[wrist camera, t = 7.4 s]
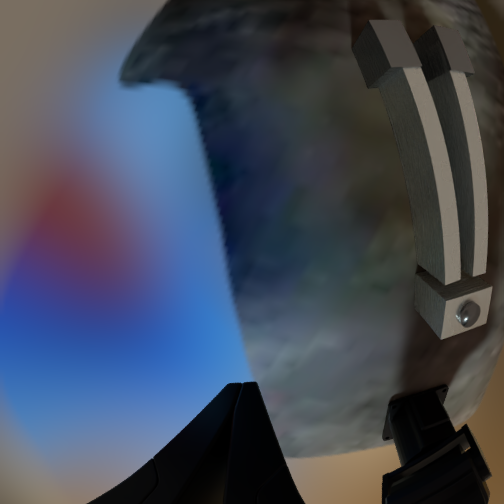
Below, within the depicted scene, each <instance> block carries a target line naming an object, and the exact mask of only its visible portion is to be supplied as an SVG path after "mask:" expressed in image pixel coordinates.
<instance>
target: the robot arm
mask: <svg viewBox="0 0 504 504" xmlns="http://www.w3.org/2000/svg"><path fill="white" fill-rule="evenodd" d="M448 389H449V388H448V386H447V385H446V384H445V385H442V386H439V387H436V388H433V389H430V390H428V391H425V392H422V393H418V394H415V395H412V396H409V397H406V398H402V399H399V400H395V401H392V402H391V403H390V404H389V405H388V411H387V416H386V421H385V426H384V430H383V435H382V438H383V440H384V441H387V440H390V439H394V443H395V446H396V449H397V452H398V456H399V460H400V463H401V467H400V468H398V469H396V470H394V471H393V472H390V473H387V474H385V475H383V483H382V504H488V501H489V497H490V491H489V489H488V486H487V484H486V480H487V479H489V478H490V477H491V476H492V474H491V472H490V469H489V467H488V464H487V462H486V459H485V457H484V455H483V452H482V450H481V448H480V446H479V444H478V442H477V440H476V438H475V436H474V435H473V433H472V432H471V430H470V428H469V427H468V425H467V424H465V425H464V426H463V427H462V428H461V429H460V430H459V431H457V432H456V431H455V429H454V427H453V425H452V423H451V421H450V417H449V416H448V414H447V412H446V410H445V408H444V406H443V404H444V401H445V398H446V395H447V392H448ZM468 447H471V448H470V449H468V450H467V451H466V452H465V451H464V450H466V449H467V448H468ZM153 458H154V459H150V460H149V461H148V462H147V463H146V464H145V465H143V466H142V467H141V468H140V469H139V470H137V471H136V472H135V473H134V474H132V475H131V476H130V477H128V478H127V479H126V480H124V481H123V482H121V483H120V484H118V485H117V486H115V487H114V488H113V489H111V490H109V491H108V492H106V493H104V494H102V495H101V496H99V497H97V498H96V499H94V500H92V501H91V502H89V503H87V504H305V503H304V501H303V499H302V497H301V495H300V494H299V492H298V490H297V488H296V485H295V483H294V481H293V479H292V477H291V474H290V471H289V469H288V467H287V464H286V461H285V459H284V456H283V453H282V451H281V448H280V445H279V443H278V440H277V437H276V434H275V432H274V429H273V426H272V423H271V421H270V418H269V415H268V412H267V409H266V406H265V404H264V401H263V398H262V395H261V392H260V389H259V386H258V384H257V382H244V383H243V384H242V383H229V384H227V385H226V386H225V387H224V388H223V389H222V390H221V392H220V393H218V395H217V396H216V397H215V398H214V399H213V400H212V401H211V402H210V403H209V404H208V405H207V406H206V407H205V408H204V409H203V410H202V411H201V412H200V413H199V414H198V415H197V416H196V417H195V418H194V419H193V420H192V421H191V422H190V423H189V424H188V425H187V426H186V427H185V428H184V429H183V430H182V431H181V432H180V433H179V434H177V435H176V436H175V437H174V438H173V439H172V440H171V441H170V442H169V443H168V444H167V445H166V446H165V447H164V448H162V449H161V450H160V451H159V452H158V453H157V454H156V455H155V456H154V457H153Z"/></svg>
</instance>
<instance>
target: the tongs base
mask: <svg viewBox="0 0 504 504" xmlns="http://www.w3.org/2000/svg"><path fill="white" fill-rule="evenodd" d="M413 46H414V48H415V51H416V53H417V55H418V57H419V60H420V62H421V64H422V67H421V69H422V72H423V74H424V77H425V79H426V82H427V85H428V87H429V90H430V93H431V96H432V99H433V102H434V105H435V108H436V111H437V114H438V118H439V121H440V125H441V128H442V132H443V136H444V140H445V144H446V148H447V153H448V157H449V162H450V167H451V172H452V178H453V184H454V191H455V198H456V205H457V214H458V225H459V238H460V265H461V279H460V280H458V281H456V282H453V283H450V284H448V285H444V284H443V283H442V282H440V281H439V280H438V279H437V278H435V277H434V276H433V275H432V274H430V273H429V272H428V271H425V272H421V273H417V274H415V303H414V308H415V309H416V310H417V311H418V312H419V314H420V315H421V316H422V317H423V318H424V320H425V321H426V322H427V323H428V325H429V326H430V327H431V328H432V329H433V331H434V332H435V333H436V334H437V336H438V337H439V338H440V339H441V340H442V339H445V338H448V337H451V336H453V335H456V334H459V333H462V332H465V331H467V330H470V329H473V328H475V327H478V326H480V325H483V324H485V323H486V321H487V316H488V311H489V305H490V300H491V293H492V286H491V285H490V284H488V283H487V282H485V281H484V280H483V279H481V278H480V277H478V276H477V275H480V274H484V273H486V262H487V246H488V200H487V184H486V173H485V164H484V156H483V149H482V143H481V137H480V132H479V127H478V122H477V117H476V113H475V108H474V104H473V101H472V97H471V93H470V90H469V86H468V83H467V80H466V77H468V76H471V75H473V74H475V72H474V69H473V66H472V63H471V61H470V58H469V55H468V53H467V50H466V47H465V45H464V43H463V40H462V38H461V36H460V33H459V31H458V30H454V29H450V28H445V27H441V26H436V25H433V26H432V27H431V28H430V29H429V30H428V31H427V32H425V33H424V34H423V35H422V36H421V37H420V38H419V39H418V40H416V41H415V42H414V43H413Z"/></svg>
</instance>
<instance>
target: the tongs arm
mask: <svg viewBox="0 0 504 504" xmlns="http://www.w3.org/2000/svg"><path fill="white" fill-rule="evenodd" d="M352 51H353V53H354V55H355V58H356V60H357V62H358V65H359V67H360V69H361V72H362V74H363V77H364V80H365V82H366V85H367V87H368V89H369V88H377V87H379V89H380V92H381V95H382V98H383V100H384V103H385V106H386V109H387V112H388V116H389V119H390V122H391V125H392V129H393V132H394V136H395V139H396V143H397V147H398V150H399V154H400V158H401V163H402V167H403V171H404V176H405V181H406V186H407V191H408V196H409V202H410V207H411V214H412V220H413V227H414V235H415V244H416V253H417V263H418V264H419V265H420V266H421V267H423V268H424V269H425V270H427V271H428V272H429V273H430V274H432V275H433V276H434V277H435V278H437V279H438V280H439V281H440V282H442V283H443V284H444V285H448V284H450V283H453V282H456V281H458V280H460V279H461V265H460V238H459V225H458V214H457V205H456V198H455V191H454V184H453V178H452V172H451V167H450V162H449V157H448V153H447V148H446V144H445V140H444V136H443V132H442V128H441V125H440V121H439V118H438V114H437V111H436V108H435V105H434V102H433V99H432V96H431V93H430V90H429V87H428V85H427V82H426V79H425V77H424V74H423V72H422V69H421V67H422V64H421V62H420V60H419V57H418V55H417V53H416V51H415V48H414V46H413V44H412V42H411V40H410V38H409V36H408V34H407V32H406V30H405V28H404V26H403V24H402V22H401V21H400V20H369V21H368V22H367V24H366V26H365V27H364V29H363V31H362V32H361V34H360V36H359V37H358V39H357V41H356V43H355V44H354V46H353V48H352Z"/></svg>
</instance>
